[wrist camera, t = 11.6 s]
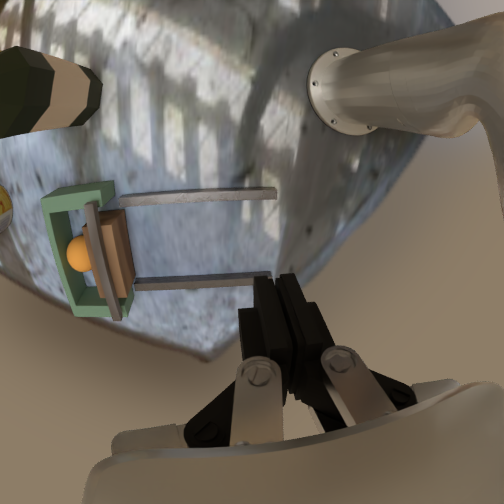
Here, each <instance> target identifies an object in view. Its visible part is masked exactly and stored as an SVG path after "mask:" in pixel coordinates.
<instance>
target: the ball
mask: <svg viewBox="0 0 504 504" xmlns="http://www.w3.org/2000/svg"><path fill="white" fill-rule="evenodd" d="M67 260H68V262H69V264H70V265H71V267H72V268H74V269H75V270H77V271H80V272H87V271H90V270H92V268H91V264H90V260H89V256H88V252H87V248H86V244H85V239H84V235H81V236H77V237H75V238H74V239H73V240H72V241H71V242H70V243H69V245H68V248H67Z"/></svg>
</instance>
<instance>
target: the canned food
mask: <svg viewBox="0 0 504 504" xmlns="http://www.w3.org/2000/svg"><path fill="white" fill-rule="evenodd" d="M12 216H13V207H12V201H11V199H10V196H9V194H8V192H7V190H6V189H5V188H4V187H3V186H1V185H0V233H1V232H2V231H4V230H5V229H6V228H7V227H8V226H9V225H10V223H11V221H12Z"/></svg>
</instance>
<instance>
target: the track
mask: <svg viewBox="0 0 504 504" xmlns="http://www.w3.org/2000/svg"><path fill="white" fill-rule="evenodd" d="M270 199H277V189H276V188H275V187H253V188H217V189H195V190H177V191H163V192H150V193H138V194H127V195H122V196H121V197H120V198H119V205H120V207H130V206H142V205H155V204H170V203H186V202H205V201H230V200H270ZM263 275H267V276H268V279H269V278H272V275H271V272H270V271H263V272H248V273H231V274H213V275H194V276H174V277H152V278H136V280H135V282H134V287H135V291H149V290H175V289H196V288H214V287H231V286H247V285H253V278H254V276H263Z"/></svg>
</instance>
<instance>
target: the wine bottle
mask: <svg viewBox="0 0 504 504" xmlns="http://www.w3.org/2000/svg"><path fill="white" fill-rule="evenodd" d="M102 86H103V84H102V83H101V81H100V80H99V79H98V78H97V77H96V75H95V74H94V73H93V72H92V70H91V69H89V68H86V67H83V66H81V65H78V64H75V63H72V62H69V61H66V60H63V59H60V58H57V57H54V56H51V55H48V54H44V53H41V52H37V51H34V50H30V49H27V48H23V47H19V46H14V47H12V48H9V49H6V50H4V51H1V52H0V139H2V138H6V137H11V136H16V135H20V134H25V133H31V132H36V131H42V130H49V129H56V128H63V127H71V126H80V125H83V124H84V123H85V122H86V121H87V120H88V119H89V118H90V117H91V116H92V115H93V114H94V113H95V112H96V111H97V110H98V109H99V106H100V99H101V92H102Z"/></svg>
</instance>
